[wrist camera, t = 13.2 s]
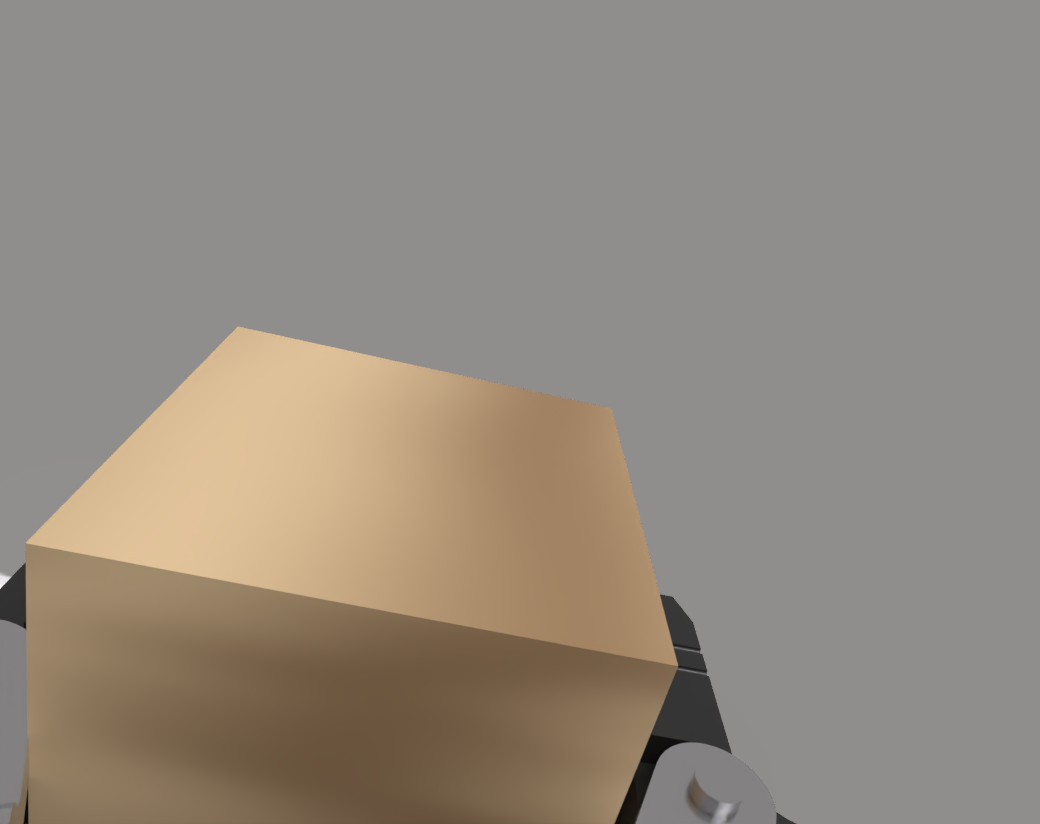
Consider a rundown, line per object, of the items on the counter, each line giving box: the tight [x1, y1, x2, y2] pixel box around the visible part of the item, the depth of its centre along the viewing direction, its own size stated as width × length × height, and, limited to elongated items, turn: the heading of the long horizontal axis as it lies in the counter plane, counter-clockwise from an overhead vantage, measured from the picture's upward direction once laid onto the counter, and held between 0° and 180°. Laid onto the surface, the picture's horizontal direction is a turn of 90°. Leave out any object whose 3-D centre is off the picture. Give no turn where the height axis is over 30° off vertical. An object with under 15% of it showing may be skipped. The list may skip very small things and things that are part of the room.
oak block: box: [25, 327, 678, 824], centre depth 10 cm, size 5×5×10 cm
